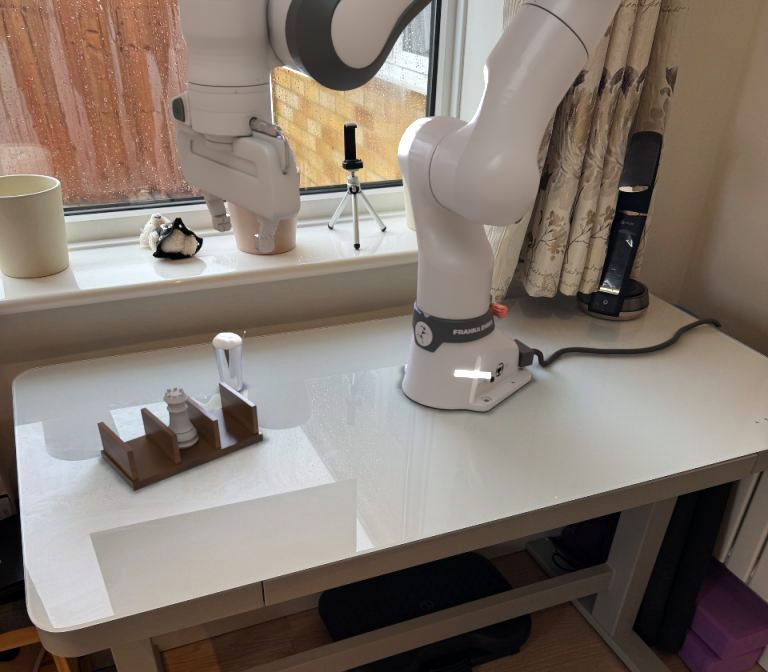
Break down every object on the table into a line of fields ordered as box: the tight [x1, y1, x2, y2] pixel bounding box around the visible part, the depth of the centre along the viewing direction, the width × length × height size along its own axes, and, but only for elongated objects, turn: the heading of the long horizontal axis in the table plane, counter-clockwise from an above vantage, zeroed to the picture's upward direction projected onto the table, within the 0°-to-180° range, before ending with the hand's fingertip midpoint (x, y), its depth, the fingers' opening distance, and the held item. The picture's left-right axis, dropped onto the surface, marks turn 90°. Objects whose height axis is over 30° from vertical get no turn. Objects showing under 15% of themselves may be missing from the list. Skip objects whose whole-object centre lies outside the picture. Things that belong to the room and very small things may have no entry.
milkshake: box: [211, 332, 246, 393], centre depth 117 cm, size 4×5×10 cm
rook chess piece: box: [162, 386, 198, 449], centre depth 103 cm, size 4×4×8 cm
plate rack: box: [96, 381, 264, 491], centre depth 104 cm, size 20×10×6 cm, turn 131°
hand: (242, 240), depth 89 cm, fingers open, 8 cm apart
